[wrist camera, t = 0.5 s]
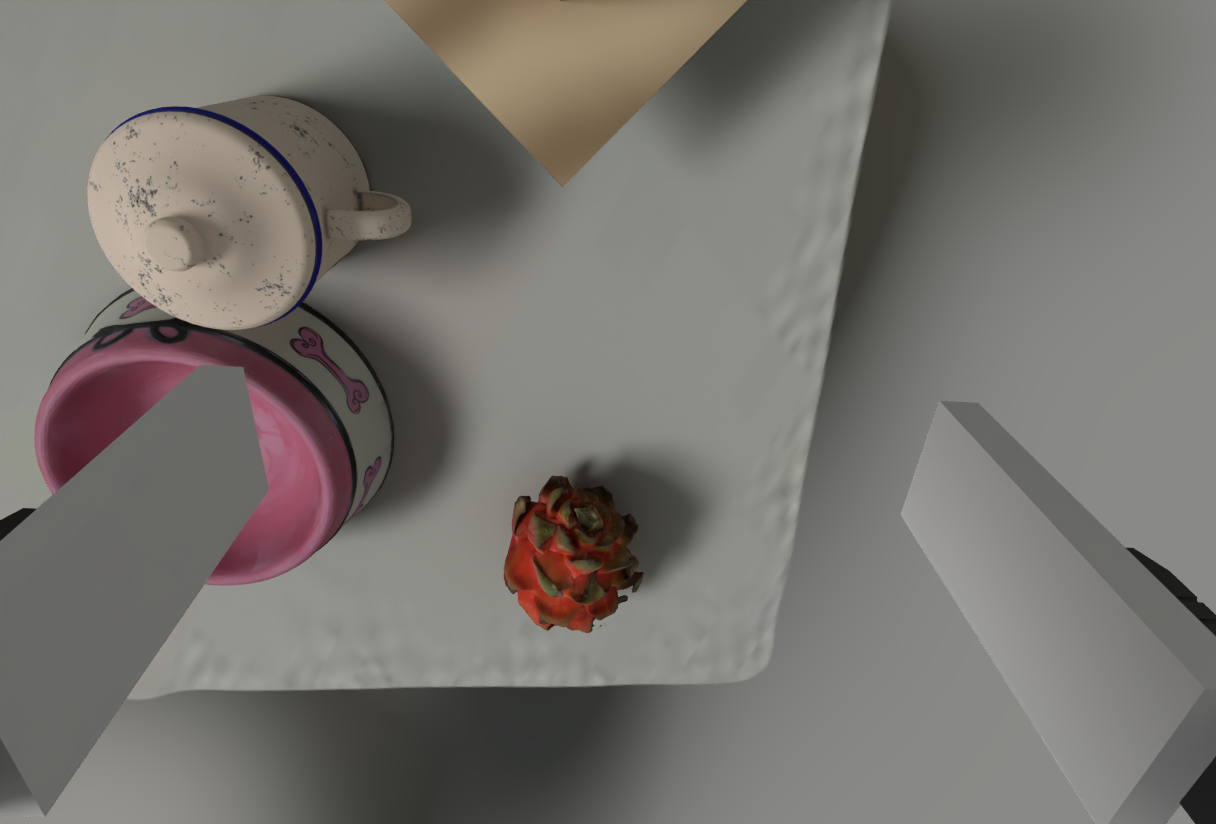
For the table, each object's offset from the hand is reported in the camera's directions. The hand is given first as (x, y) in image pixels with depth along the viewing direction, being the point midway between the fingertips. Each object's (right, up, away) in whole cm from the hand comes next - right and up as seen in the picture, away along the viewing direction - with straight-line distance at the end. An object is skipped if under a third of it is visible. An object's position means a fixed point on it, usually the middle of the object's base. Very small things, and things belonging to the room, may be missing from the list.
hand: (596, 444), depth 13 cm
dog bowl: (-22, 0, +30) cm, 37 cm away
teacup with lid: (-15, +12, +23) cm, 30 cm away
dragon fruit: (-2, -7, +34) cm, 35 cm away
